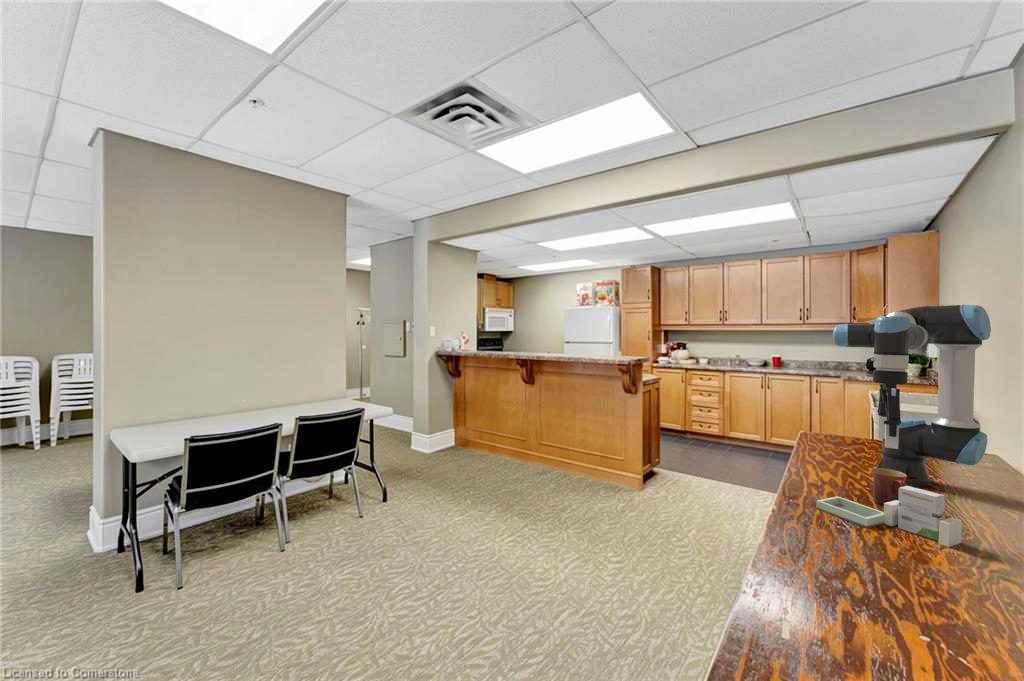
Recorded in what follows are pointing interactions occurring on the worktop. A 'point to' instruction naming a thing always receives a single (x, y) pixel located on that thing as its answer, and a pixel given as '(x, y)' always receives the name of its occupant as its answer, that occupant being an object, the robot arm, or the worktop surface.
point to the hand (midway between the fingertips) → (887, 443)
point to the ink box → (920, 511)
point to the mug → (887, 484)
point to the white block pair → (947, 527)
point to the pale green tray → (851, 511)
